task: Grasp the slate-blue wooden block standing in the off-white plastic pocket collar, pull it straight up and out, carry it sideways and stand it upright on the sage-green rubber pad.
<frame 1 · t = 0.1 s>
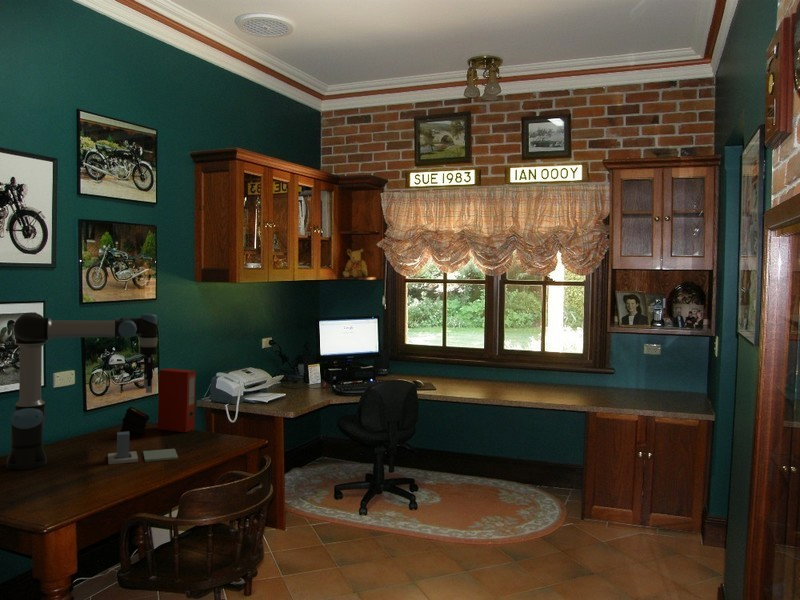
hand: (147, 390, 309), 28 cm above the table, fingers open, 13 cm apart
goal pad: (160, 456, 297), on the table
file binder: (176, 429, 345), on the table
pocket collar: (122, 459, 290), on the table
slate block: (123, 446, 290), in the pocket collar
black slab: (134, 437, 328), on the table
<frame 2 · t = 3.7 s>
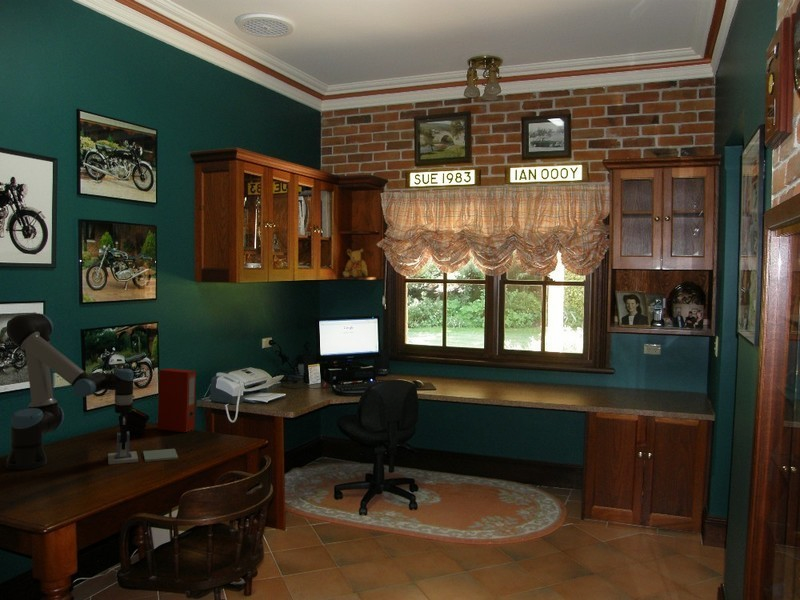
hand: (122, 454, 290), 2 cm above the table, fingers closed on slate block, 5 cm apart
slate block: (123, 446, 290), in the pocket collar, touching gripper
everything else where it was.
when the fingers open (4 cm above the table, at t = 10.9 s): slate block stays where it is, resting on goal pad.
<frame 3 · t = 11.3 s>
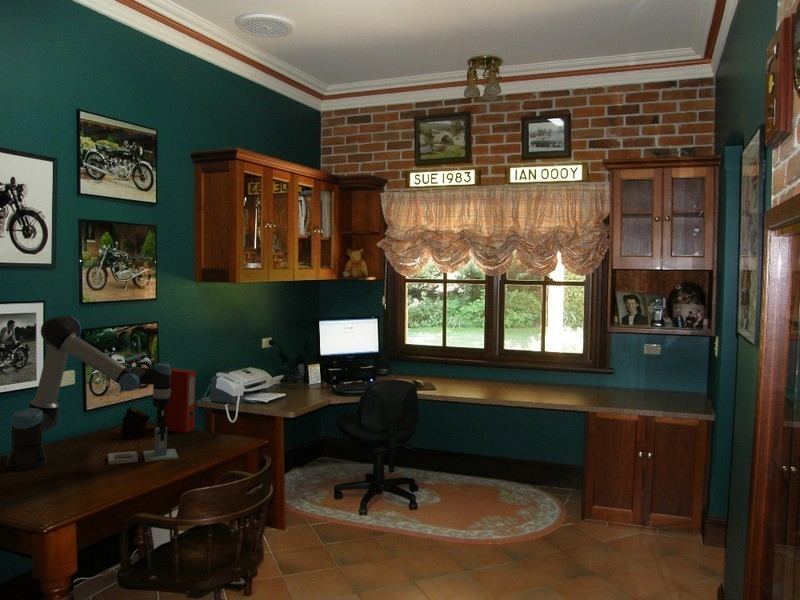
hand: (160, 444, 297), 5 cm above the table, fingers open, 11 cm apart
slate block: (160, 441, 297), on the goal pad, point 7 cm above the table
everything else where it was.
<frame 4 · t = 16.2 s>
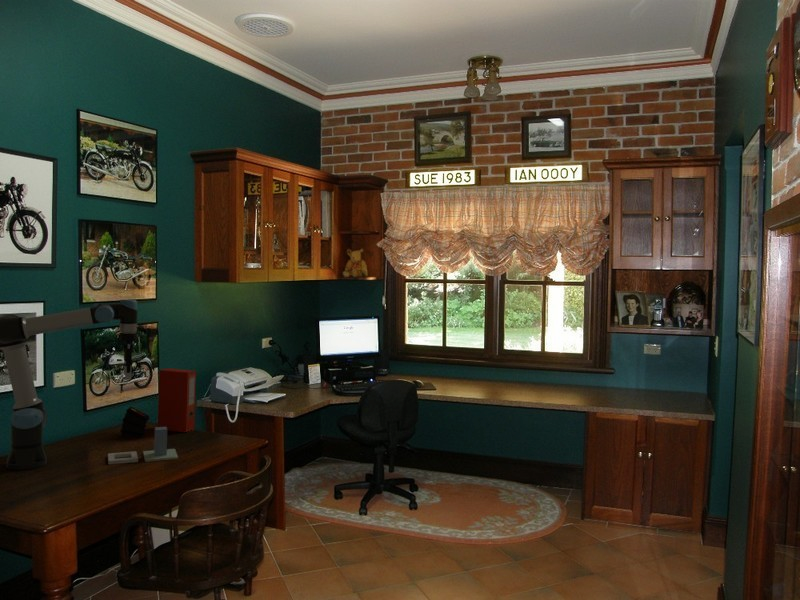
hand: (127, 377, 303), 35 cm above the table, fingers open, 13 cm apart
nothing on the table moved.
at the end: slate block 0.0 cm off-centre on the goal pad, point 7.0 cm above the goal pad's base; slate block tilted 0°; the gripper is holding nothing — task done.
